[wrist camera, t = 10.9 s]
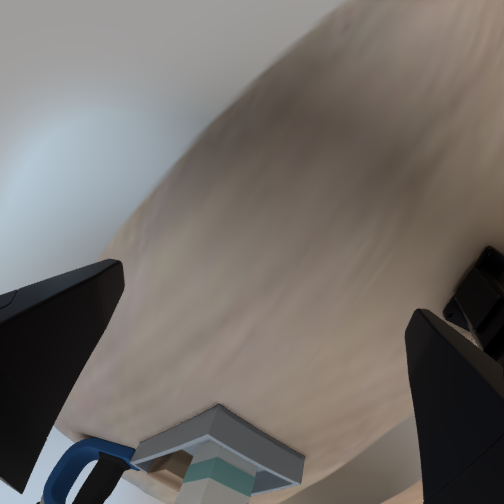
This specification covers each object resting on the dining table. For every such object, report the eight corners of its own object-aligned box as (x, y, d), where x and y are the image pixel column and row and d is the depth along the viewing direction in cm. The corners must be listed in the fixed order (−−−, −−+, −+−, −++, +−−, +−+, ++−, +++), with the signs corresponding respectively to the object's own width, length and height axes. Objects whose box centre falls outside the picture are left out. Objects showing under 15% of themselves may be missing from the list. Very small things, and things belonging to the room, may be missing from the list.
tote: (219, 403, 29) (207, 433, 26) (304, 456, 31) (301, 484, 27) (140, 442, 38) (129, 462, 34) (208, 483, 39) (201, 503, 36)
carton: (224, 435, 31) (192, 525, 20) (260, 456, 32) (237, 542, 21) (197, 445, 33) (164, 524, 22) (231, 465, 34) (206, 541, 23)
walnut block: (176, 445, 34) (165, 469, 31) (223, 473, 35) (216, 495, 32) (156, 453, 37) (146, 473, 33) (200, 478, 38) (192, 499, 34)
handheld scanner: (158, 465, 40) (112, 557, 23) (89, 445, 44) (43, 517, 27) (147, 451, 39) (95, 547, 21) (77, 430, 43) (26, 504, 25)
